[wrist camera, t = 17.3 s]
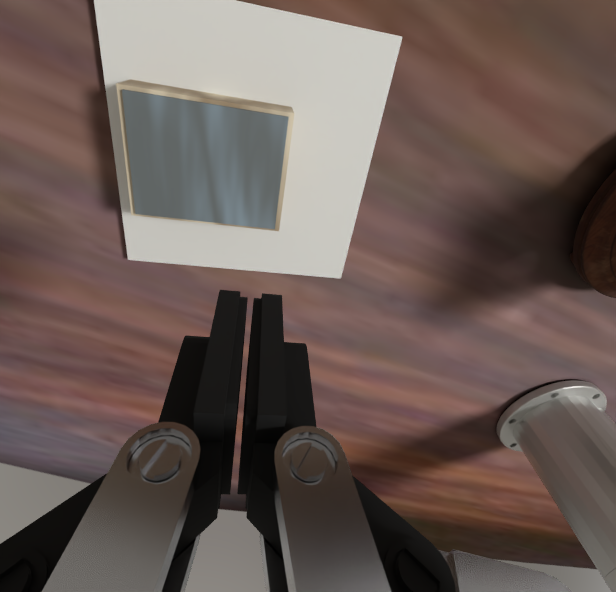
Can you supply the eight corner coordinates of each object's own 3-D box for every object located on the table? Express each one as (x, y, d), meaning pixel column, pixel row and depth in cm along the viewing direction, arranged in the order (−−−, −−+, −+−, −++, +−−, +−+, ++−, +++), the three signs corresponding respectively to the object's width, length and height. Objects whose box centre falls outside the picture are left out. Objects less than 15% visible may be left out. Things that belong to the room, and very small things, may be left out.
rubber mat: (399, 36, 20) (402, 36, 20) (339, 275, 29) (340, 278, 29) (93, -30, 18) (89, -32, 17) (129, 256, 27) (127, 259, 26)
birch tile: (294, 114, 19) (115, 83, 18) (279, 232, 23) (130, 216, 22) (291, 106, 22) (130, 79, 20) (277, 216, 25) (142, 201, 24)
